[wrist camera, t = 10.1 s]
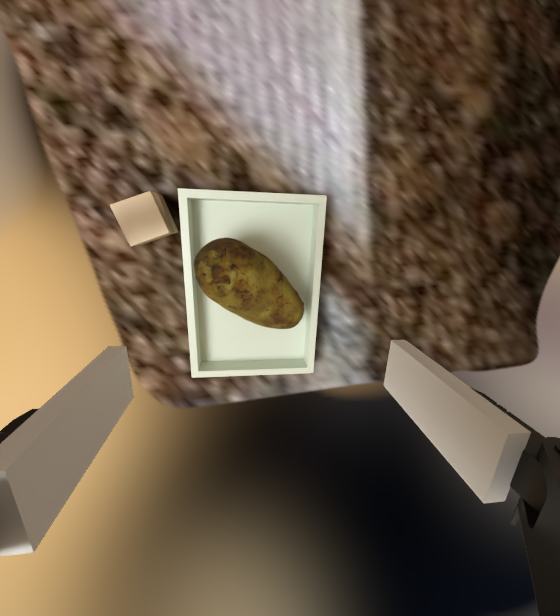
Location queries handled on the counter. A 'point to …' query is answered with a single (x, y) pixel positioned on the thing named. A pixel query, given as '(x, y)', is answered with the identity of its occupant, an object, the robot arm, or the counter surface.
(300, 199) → the tray
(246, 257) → the potato
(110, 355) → the robot arm
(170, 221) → the beech block
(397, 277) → the counter surface
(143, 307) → the counter surface
